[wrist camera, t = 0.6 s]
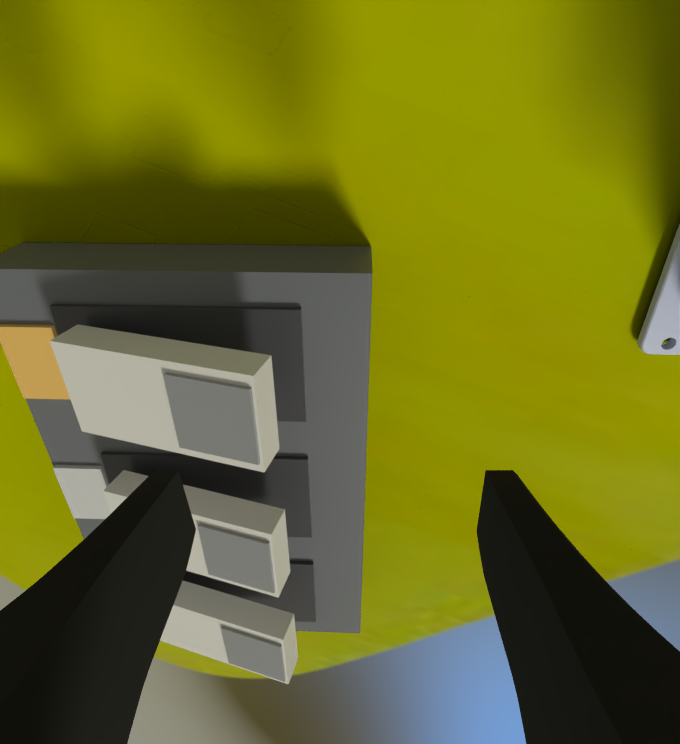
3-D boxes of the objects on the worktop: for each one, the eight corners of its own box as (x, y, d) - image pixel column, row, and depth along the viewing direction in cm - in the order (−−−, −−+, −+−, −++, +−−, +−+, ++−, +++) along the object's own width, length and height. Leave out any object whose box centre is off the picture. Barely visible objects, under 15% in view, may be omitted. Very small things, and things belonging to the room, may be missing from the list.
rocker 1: (271, 355, 15) (251, 378, 13) (279, 448, 16) (262, 475, 15) (77, 324, 16) (46, 342, 15) (105, 411, 18) (79, 433, 17)
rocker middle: (284, 509, 18) (269, 537, 17) (290, 571, 20) (277, 600, 19) (123, 469, 20) (100, 493, 19) (142, 530, 22) (123, 555, 21)
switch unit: (371, 245, 18) (372, 275, 15) (360, 585, 28) (359, 636, 26) (22, 242, 18) (-33, 270, 16) (139, 578, 29) (117, 627, 26)
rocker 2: (294, 613, 21) (282, 642, 20) (297, 658, 23) (287, 687, 22) (155, 572, 23) (138, 597, 22) (170, 617, 25) (154, 641, 24)
